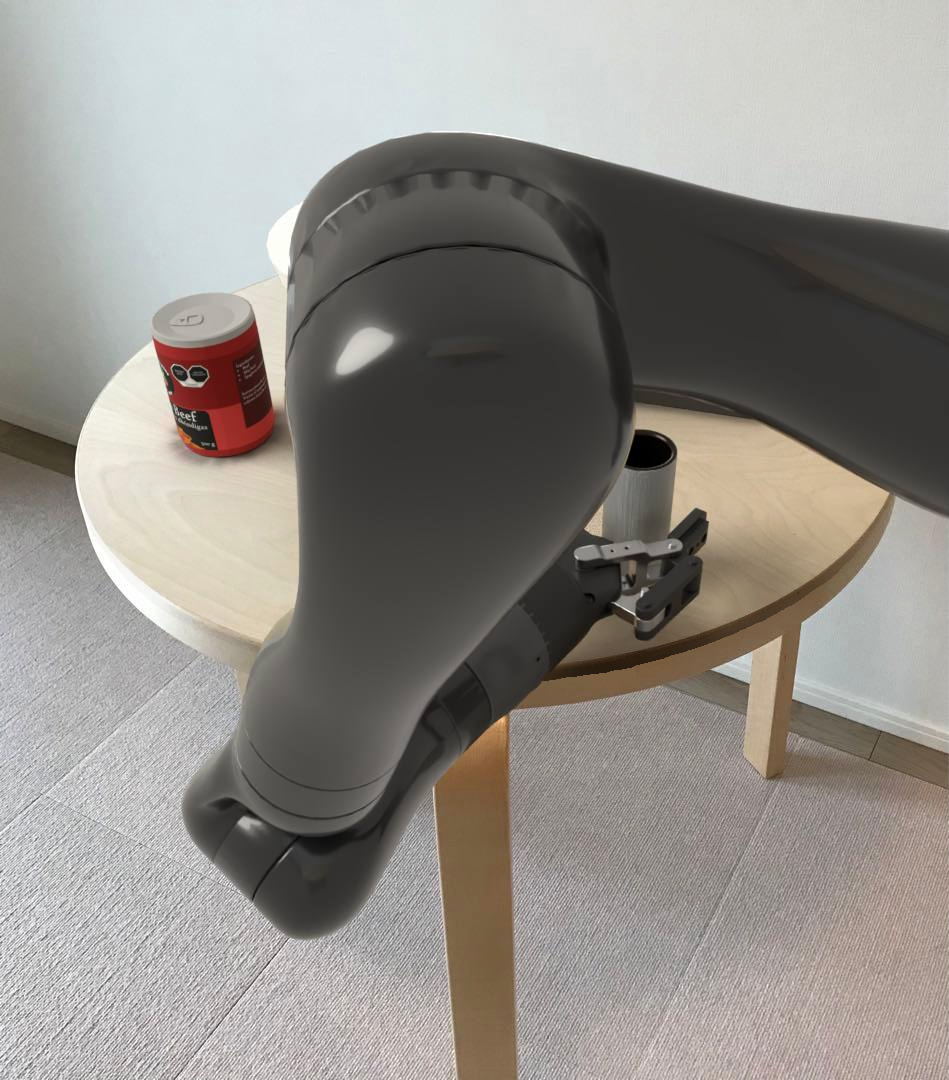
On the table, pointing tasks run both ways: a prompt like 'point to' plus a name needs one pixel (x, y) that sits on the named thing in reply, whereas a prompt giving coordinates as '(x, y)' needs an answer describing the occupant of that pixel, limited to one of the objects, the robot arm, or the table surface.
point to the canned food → (214, 373)
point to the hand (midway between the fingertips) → (644, 495)
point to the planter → (642, 493)
